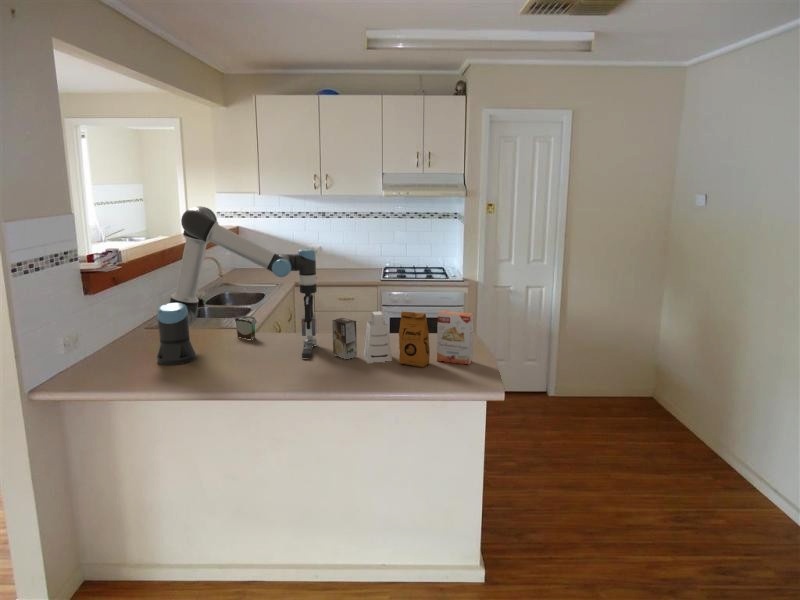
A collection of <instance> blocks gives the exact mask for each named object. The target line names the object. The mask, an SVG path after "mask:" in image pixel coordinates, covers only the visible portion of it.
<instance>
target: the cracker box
mask: <svg viewBox="0 0 800 600" xmlns="http://www.w3.org/2000/svg"><path fill="white" fill-rule="evenodd" d="M436 332H437V333H436V334H437V336H436V343H437V344H436V362H441V361H444V362H443V363H449V362H452V364H456V363H460V364H459V365H464V364H468V365H467V366H470V364H471V363H472V362H473V347H474V345H473V344H474V313H470V312H469V313H468V312H461V311H460V312H459V311H449V310H441V311H439V312H438V313H437V331H436ZM471 361H472V362H471Z"/></svg>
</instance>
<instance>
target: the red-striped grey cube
mask: <svg viewBox="0 0 800 600" xmlns="http://www.w3.org/2000/svg"><path fill="white" fill-rule="evenodd" d="M304 321H305V315H302V317H301V336H302V337H307V336H306V325H305V322H304ZM311 321H312V336H313V337H316V335H317V331H318V330H317V315H314V316H311Z"/></svg>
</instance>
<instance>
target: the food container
mask: <svg viewBox="0 0 800 600" xmlns="http://www.w3.org/2000/svg"><path fill="white" fill-rule="evenodd" d="M234 322H235V328H236V334H237V338H238V337H241V338H246V339H251V340H252V339H254V338H255V339H256V324H257V319H256V317H254V316H251V315H250V316H248V315H244V316H236V317H234ZM241 338H240V339H241ZM246 339H245V340H246ZM255 339H254V340H255ZM252 341H253V340H252Z"/></svg>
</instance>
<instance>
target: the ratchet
mask: <svg viewBox="0 0 800 600" xmlns="http://www.w3.org/2000/svg"><path fill="white" fill-rule="evenodd" d="M302 342H303V347H304V346H305V347H304V348H302V349H303V350H302V352H301V359H302V358H310V359H311V357H310V355H311V356H312V351H311V349H312V350H313V348H312V346H314V345H316V344H317V345H318V343H317V342H318V340H317V338H315V337H314V336H306V338H304V339H303V341H302Z"/></svg>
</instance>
